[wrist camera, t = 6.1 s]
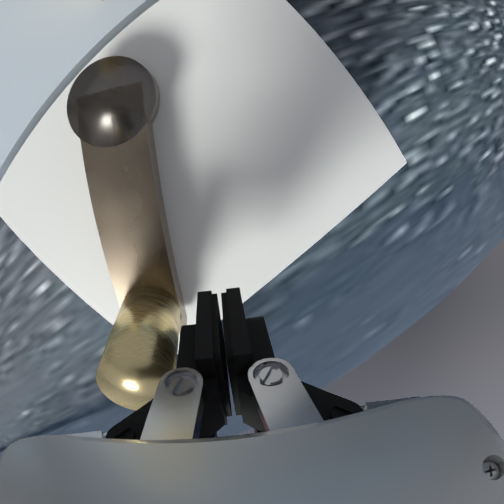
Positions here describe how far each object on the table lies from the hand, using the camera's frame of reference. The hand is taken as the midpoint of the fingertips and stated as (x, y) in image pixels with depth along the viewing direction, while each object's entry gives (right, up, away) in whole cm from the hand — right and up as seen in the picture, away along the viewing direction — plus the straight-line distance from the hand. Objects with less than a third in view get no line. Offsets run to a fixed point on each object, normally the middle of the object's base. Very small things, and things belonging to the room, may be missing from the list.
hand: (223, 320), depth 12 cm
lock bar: (-5, +5, +2) cm, 7 cm away
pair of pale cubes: (-8, +15, +8) cm, 19 cm away
